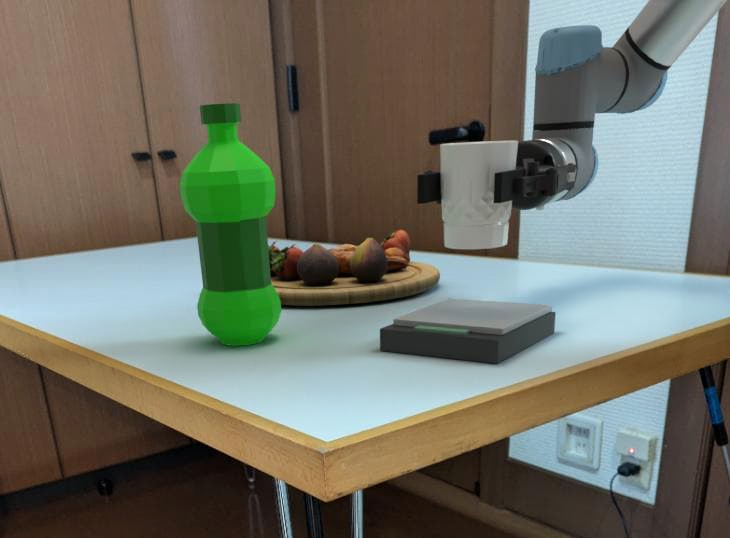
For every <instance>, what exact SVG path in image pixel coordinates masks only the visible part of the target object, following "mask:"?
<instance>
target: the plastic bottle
mask: <svg viewBox="0 0 730 538" xmlns="http://www.w3.org/2000/svg"><path fill="white" fill-rule="evenodd" d="M199 115H200V122H201V123H200V124H201V125H202V126H206V133H207V142H206V143H205V144H204V145H203V146H202V147H201V149H199V151H197V153H196V154H195V156H194V157H193V158H192V159H191V160H190V162H189V163H188V164H187V166H186V167H185V168H184V170H183V171H182V172H181V177H180V181H179V192H180V199H181V202H182V206H183V208H184V211H185V212H186V213H187V214H188V216H190V217H191V219H193V220H194V221H195V227H196V228H195V229H196V238H197V246H198V247H197V248H198V255H199V264H200V272H201V281H202V289H201V290H200V293H199V297H198V301H197V304H196V308H197V315H198V318H199V321H200V322H201V324H202V326H203V327H204V328H205V329H206V330H207V332H209V333H210V334H211V335H213V336H214V337H215V338H216V339H217V340H218V341H220V343H221V344H222V345H224V346H233V347H239V346H250V345H251V346H252V345H254V344H260V343H261V342H263V341H265V337H267V336H268V335H269V334H270V333H271V332H272V330H273V329H274V328H275V327H276V325H277V324H278V322H279V320H280V317H281V313H282V305H281V301H280V298H279V296H278V294H277V292H276V290H275V288H274V287H273V285H272V283H271V276H270V263H269V250H268V245H269V240H268V239H269V238H268V228H267V227H268V226H267V225H268V224H267V217H268V215H269V214H270V212H271V211H272V210H273V208H274V207H275V201H276V193H277V192H276V179H275V177H274V175H273V172H272V170H271V168H270V166H269V165H268V164H267V163H265V161H263V160H262V159H261V158H260V157H259V156H258V155H257V154H256V153H255V152H254V151H252V150H251V149H250V148H249V147H248V146H247V145H245V144H244V143H243V142H242V141H240V140H239V136H238V124H241V123H242V113H241V103H237V102H235V103H233V102H232V103H230V102H229V103H228V102H227V103H210V104H201V105H199Z"/></svg>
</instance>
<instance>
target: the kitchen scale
mask: <svg viewBox="0 0 730 538" xmlns="http://www.w3.org/2000/svg"><path fill="white" fill-rule="evenodd" d="M552 310H553V306H552V304H537V303H523V302H508V301H493V300H479V299H463V298H451V297H450V298H446V299H444V300H441V301H438V302H435V303H433V304H431V305H428V306H425V307H422V308H419V309H417V310H414V311H411V312H409V313H406V314H403V315H400V316H398V317H395V318H393V321H392V322H393V323H390V324H389V325H386V326H383V327H381V328H379V346H380V347H379V350H380V351H381V352H391V353H398V354H399V353H400V354H409V355H416V356H417V355H418V356H426V357H433V358H434V357H436V358H441V359H442V358H443V359H451V360H461V361H468V362H479V363H486V364H495V365H497V364H499V363H501V362H503V361H505V360H507V359H509V358H511V357H512V356H514V355H516V354H518V353H520V352H523V351H524V350H525V349H527V348H529V347H532V346H533V345H535V344H537V343H538V342H540V341H543V340H544V339H546V338H548V337H550V336H552V335H553V334H555V329H556V328H555V327H556V313H557V312H556V311H552Z"/></svg>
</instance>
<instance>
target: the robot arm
mask: <svg viewBox="0 0 730 538" xmlns="http://www.w3.org/2000/svg"><path fill="white" fill-rule="evenodd" d="M727 2H728V0H648V1H647V2H646V4H645V5H644V7H643V8H642V9H641V10H640V12H639V13H637V15H636V17H635V18H634V20H633V21H632V22H631V23H630V25H629V26H628V27H627V28H626V30H625V31H624V32H623V33H622V34H621V36H620V37H618V39H617V40H616V42H615V43H614V45H613V46H612V47H611V46H610V47H609V46H604V45H603V44H602V42H603V41H602V39H603V33H602V30H601V28H599V26H597V25H592V24H587V25H586V24H583V25H582V24H581V25H580V24H579V25H567V26H560V27H553V28H549V29H547V30H546V31H544V32H543V33H542V34H541V35H540V38H539V42H538V49H537V60H536V64H535V69H534V72H535V81H534V101H533V102H534V103H533V119H532V120H533V121H532V122H533V123H532V124H533V125H532V134H531V135H532V136H531V139H528V140H522V141H518V150H517V160H516V170H510V171H504V172H498V173H495V180H494V203H504V202H508V201H512V208H511V209H514V210H518V211H529V210H533V209H536V210H537V211H543V210H544V209H545V205H548V204H551V203H555V202H559V201H560V202H561V201H568V200H571V199H573V198H574V199H575V197H577V196H578V195H580V194H582V193H583V192H584V191H586V190H587V189H588V188H589V187H590V186H591V184H592V183H593V182H594V180H595V178H596V176H597V174H598V170H599V155H598V151H597V150H596V148H595V146H594V144H593V142H594V141H593V140H594V128H595V118H596V115H597V114H619V115H624V114H631V113H634V112H637V111H642V110H645V109H647V108H649V107H650V106H652V105H653V104H654V103H656V101H657V100H659V98H660V97H661V96H662V95H663V92H664V90H665V87H666V83H667V81H668V70H670V68H671V67H672V66H673V65H674V64H675V62H676V61H677V60H678V59H679V58H680V56H681V55H682V54H683V53H684V52H685V51H686V49H688V47H689V46H690V45H691V43H692V42H693V41H694V40H695V39H696V38H697V37H698V35H699V34H700V33H702V31H703V30H704V28H705V27H706V26H707V25H708V24H709V23H710V21H712V19H713V18H714V17H715V16H716V15H717V14H718V12H720V10H721V8H722V7H723V6H724V5H725V4H726V3H727ZM416 178H417V180H416V181H417V183H416V184H417V191H416V192H417V193H416V197H417V198H416V199H417V200H416V201H417V204H418V205H419V204H422V205H424V204H428V203H433V202H435V204H436V205H441V174H440V170H433V171H432V170H427V171H425V172H424V173H423V174H422V173H421V174H417V177H416Z"/></svg>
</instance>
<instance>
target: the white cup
mask: <svg viewBox="0 0 730 538" xmlns="http://www.w3.org/2000/svg"><path fill="white" fill-rule="evenodd" d="M518 142H519V140H491V141H489V140H488V141H467V142H466V141H465V142H452V143H451V142H450V143H441V144H439V165H440V166H439V167H440V168H439V171H440V174H441V204H440V205H441V220H442V222H443V223H442V226H443V227H442V228H443V246H444V248H447V249H451V250H487V249H496V248H501V247H505V246H507V245H508V238H509V228H510V227H509V226H510V222H509V220H510V218H511V215H512V209H513V208H512V201H508V202H504V203H494V180H495V173H498V172H504V171H510V170H516V160H517V150H518Z"/></svg>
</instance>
